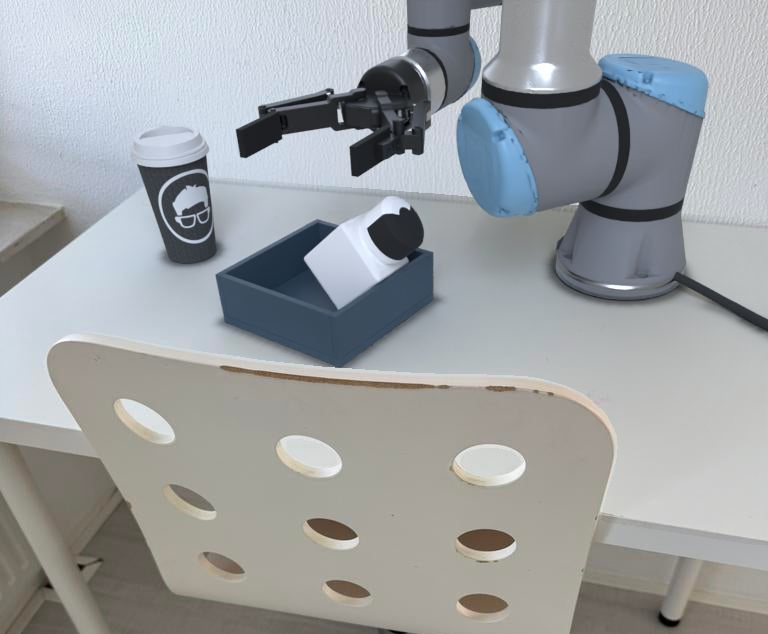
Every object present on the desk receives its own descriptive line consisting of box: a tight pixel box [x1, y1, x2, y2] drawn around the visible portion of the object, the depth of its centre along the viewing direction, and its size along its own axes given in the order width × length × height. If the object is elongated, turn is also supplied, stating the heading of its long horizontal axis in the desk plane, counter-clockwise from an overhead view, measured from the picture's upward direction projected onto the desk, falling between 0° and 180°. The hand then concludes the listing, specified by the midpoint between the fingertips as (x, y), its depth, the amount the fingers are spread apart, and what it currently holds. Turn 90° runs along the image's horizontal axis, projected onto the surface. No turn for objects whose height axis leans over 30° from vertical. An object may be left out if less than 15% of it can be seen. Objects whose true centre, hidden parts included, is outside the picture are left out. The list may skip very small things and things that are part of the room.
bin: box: [214, 218, 434, 368], centre depth 89 cm, size 18×18×6 cm
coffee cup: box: [130, 124, 218, 264], centre depth 99 cm, size 10×10×15 cm
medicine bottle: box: [304, 195, 425, 310], centre depth 84 cm, size 7×7×12 cm
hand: (295, 152), depth 76 cm, fingers open, 13 cm apart
